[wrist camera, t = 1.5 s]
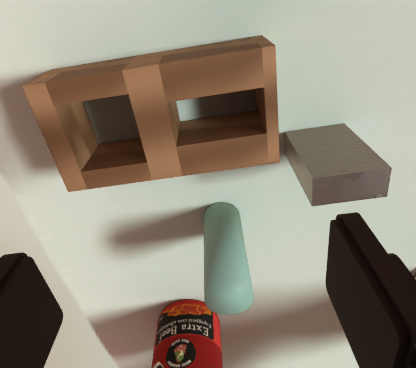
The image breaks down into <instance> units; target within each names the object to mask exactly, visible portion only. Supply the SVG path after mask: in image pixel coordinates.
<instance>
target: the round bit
mask: <svg viewBox="0 0 416 368" xmlns="http://www.w3.org/2000/svg"><path fill="white" fill-rule="evenodd" d="M204 293H205V304H206V306H207V307H208V308H209V309H210V310H211V311H213V312H215V313H217V314H221V315H235V314H239V313H241V312H244V311H245V310H247V309H248V308H249V307H250V306H251V305H252V303H253V300H254V295H253V290H252V284H251V278H250V272H249V266H248V260H247V255H246V249H245V243H244V237H243V231H242V226H241V220H240V214H239V211H238V209H237V208H236V207H235V206H234V205H232V204H230V203H227V202H218V203H215V204H212V205H211V206H209V207H208V208H207V209H206V211H205V213H204Z"/></svg>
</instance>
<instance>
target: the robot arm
mask: <svg viewBox="0 0 416 368" xmlns="http://www.w3.org/2000/svg"><path fill="white" fill-rule="evenodd" d="M326 288H327V292H328V294H329V297H330V299H331V302H332V304H333V306H334V309H335V311H336V313H337V316H338V318H339V320H340V323H341V325H342V328H343V330H344V332H345V335H346V337H347V339H348V342H349V344H350V346H351V349H352V351H353V354H354V356H355V358H356V361H357V363H358V365H359V368H416V276H415V278H414V277H413V275H412V274H411V273H410V271H409V270H408V269H407V267H406V266H405V265H404V263H403V262H402V261H401V259H400V258H399V257H398V256H397V255H395V254H393V253H392V254H388V253H387V252H386V251H385V249H384V248H383V246H382V245H381V244H380V242H379V241H378V239H377V238H376V236H375V235H374V234H373V232H372V231H371V229H370V228H369V227H368V225H367V224H366V222H365V221H364V220H363V218H362V217H361V215H360V214H359V213H357V212H356V213H348V214H339V215H337V217H336V220H332V221H331V223H330V233H329V246H328V259H327V271H326ZM62 319H63V312H62V310H61V308H60V306H59V304H58V303H57V301H56V299H55V297H54V295H53V294H52V292H51V290H50V288H49V287H48V285H47V283H46V281H45V280H44V278H43V276H42V274H41V272H40V271H39V269H38V267H37V265H36V264H35V262H34V260H33V259H32V258H31V257H28V256H27V254H25V253H15V254H7V255H3V256H2V257H1V258H0V368H44V365H45V363H46V360H47V358H48V355H49V353H50V350H51V348H52V345H53V343H54V340H55V338H56V336H57V333H58V331H59V328H60V326H61V324H62Z"/></svg>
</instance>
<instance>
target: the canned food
mask: <svg viewBox="0 0 416 368" xmlns="http://www.w3.org/2000/svg"><path fill="white" fill-rule="evenodd" d="M152 368H223V366H222V350H221V334H220V322H219V318H218V316H217V314H216V313H215V312H213V311H211V310H210V309H209V308H208V307H207V306H206V304H205V303H204V302H201V301H198V300H180V301H177V302H174V303H172V304H170V305H168V306H167V307H166V308H165V309H164V310H163V311H162V313H161V315H160V317H159V319H158V323H157V331H156V338H155V346H154V353H153V361H152Z"/></svg>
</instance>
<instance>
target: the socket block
mask: <svg viewBox="0 0 416 368" xmlns="http://www.w3.org/2000/svg"><path fill="white" fill-rule="evenodd" d="M22 88H23V90H24V93H25V95H26V97H27V99H28V102H29V104H30V106H31V109H32V111H33V113H34V115H35V118H36V120H37V122H38V124H39V127H40V129H41V131H42V134H43V136H44V138H45V140H46V143H47V145H48V147H49V149H50V152H51V154H52V156H53V159H54V161H55V163H56V165H57V168H58V170H59V172H60V174H61V177H62V179H63V181H64V184H65V186H66V188H67V190H68V192H71V191H78V190H85V189H93V188H100V187H107V186H114V185H121V184H128V183H136V182H143V181H150V180H157V179H164V178H171V177H178V176H186V175H193V174H200V173H207V172H214V171H221V170H229V169H236V168H243V167H250V166H257V165H264V164H272V163H279V162H280V156H279V130H278V104H277V78H276V52H275V45H274V44H273V43H271V42H270V41H269V40H267V39H266V38H265V37H263V36H262V35H261V36H255V37H249V38H242V39H236V40H230V41H224V42H218V43H212V44H206V45H200V46H193V47H187V48H181V49H175V50H169V51H163V52H157V53H151V54H144V55H138V56H132V57H126V58H120V59H114V60H108V61H102V62H95V63H89V64H83V65H77V66H71V67H65V68H59V69H53V70H51V71H49V72H47V73H45V74H43V75H42V76H40V77H38V78H36V79H34V80H32V81H31V82H29V83H27V84H25V85H23V86H22ZM250 89H255V99H256V110H255V111H249V112H242V113H235V114H229V115H222V116H215V117H209V118H202V119H195V120H188V121H182V122H180V119H179V114H178V110H177V105H176V101H178V100H185V99H191V98H198V97H204V96H211V95H217V94H224V93H230V92H237V91H243V90H250ZM126 94H129V98H130V102H131V105H132V109H133V112H134V116H135V120H136V123H137V127H138V131H139V134H140V138H137V139H130V140H123V141H116V142H109V143H103V144H99V143H98V140H97V138H96V135H95V132H94V129H93V126H92V123H91V120H90V118H89V115H88V112H87V109H86V106H85V103H84V101H87V100H94V99H100V98H106V97H113V96H119V95H126Z"/></svg>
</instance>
